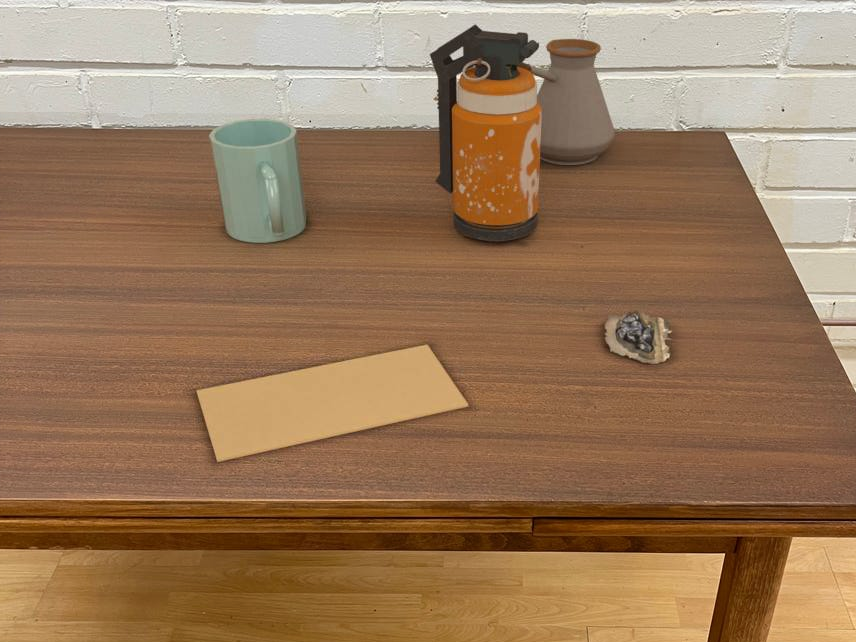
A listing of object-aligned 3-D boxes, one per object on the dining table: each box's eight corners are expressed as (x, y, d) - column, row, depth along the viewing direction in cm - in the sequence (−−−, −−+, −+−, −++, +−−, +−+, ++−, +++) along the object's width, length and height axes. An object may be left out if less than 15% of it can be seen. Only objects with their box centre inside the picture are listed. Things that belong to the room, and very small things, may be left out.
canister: (522, 252, 98) (529, 46, 86) (423, 237, 101) (415, 35, 88) (546, 218, 105) (556, 22, 92) (452, 204, 108) (449, 12, 95)
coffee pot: (567, 132, 126) (575, 9, 117) (631, 156, 120) (645, 27, 110) (441, 171, 116) (438, 38, 106) (504, 200, 109) (507, 61, 99)
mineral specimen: (658, 314, 88) (660, 296, 87) (695, 359, 82) (698, 339, 81) (589, 324, 87) (591, 305, 86) (622, 369, 81) (624, 350, 80)
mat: (217, 462, 71) (216, 460, 71) (196, 392, 78) (196, 390, 78) (468, 406, 77) (468, 404, 76) (427, 346, 84) (427, 344, 84)
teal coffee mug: (219, 216, 105) (203, 124, 99) (296, 205, 107) (285, 114, 101) (240, 263, 96) (224, 165, 90) (323, 249, 99) (313, 153, 92)
